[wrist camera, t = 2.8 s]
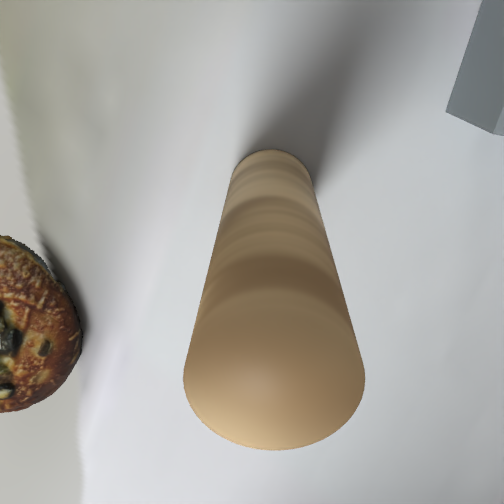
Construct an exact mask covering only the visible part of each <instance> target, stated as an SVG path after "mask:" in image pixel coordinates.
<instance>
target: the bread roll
mask: <svg viewBox="0 0 504 504" xmlns="http://www.w3.org/2000/svg"><path fill="white" fill-rule="evenodd" d="M47 268H48V267H47V265H46V263H45V262H44V260H42V258H41V257H39V256H38V255H37V254H35V253H34V251H33V250H30V248H28V247H27V246H25V244H22V243H21V242H18V241H15V240H14V239H12V237H10V236H1V235H0V344H1V348H0V413H4V412H12V411H19V410H22V409H26V408H28V407H30V406H31V405H33V404H36V403H38V402H40V401H42V400H44V399H45V398H47V397H49V396H50V395H52V394H53V393H54V392H55V391H56V390H57V389H58V388H59V387H60V386H61V385H62V384H63V383H64V382H65V381H66V379H67V377H68V375H69V374H70V373H71V372H72V369H73V368H74V366H75V364H77V361H78V359H79V357H80V355H81V347H82V346H81V345H82V338H83V336H82V335H83V333H82V329H81V331H80V320H79V316H78V314H77V310H76V307H75V306H74V304H73V301H72V299H71V298H70V296H69V295H68V292H67V291H66V290H65V287H64V285H63V284H62V283H61V282H56V281H55V280H54V279H53V277H52V275H51V273H50V271H49V270H48V269H47Z"/></svg>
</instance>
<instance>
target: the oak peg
mask: <svg viewBox="0 0 504 504" xmlns="http://www.w3.org/2000/svg"><path fill="white" fill-rule="evenodd" d="M183 382H184V389H185V393H186V397H187V399H188V402H189V404H190V406H191V408H192V409H193V411H194V412H195V414H196V415H197V416H198V418H199V419H200V420H201V421H202V422H203V423H204V424H205V425H206V426H207V427H208V428H209V429H211V430H212V431H213V432H215V433H216V434H218V435H219V436H221V437H223V438H225V439H227V440H229V441H231V442H234V443H236V444H239V445H242V446H245V447H250V448H255V449H261V450H288V449H295V448H300V447H304V446H307V445H310V444H313V443H316V442H318V441H320V440H323V439H324V438H326V437H328V436H330V435H331V434H333V433H334V432H336V431H337V430H338V429H340V428H341V427H342V426H343V425H344V424H345V423H346V422H347V421H348V420H349V419H350V418H351V416H352V415H353V414H354V412H355V411H356V409H357V407H358V405H359V403H360V401H361V399H362V395H363V391H364V386H365V371H364V366H363V362H362V358H361V354H360V351H359V347H358V344H357V340H356V337H355V333H354V330H353V326H352V323H351V319H350V316H349V312H348V309H347V305H346V302H345V298H344V294H343V291H342V287H341V284H340V280H339V277H338V273H337V270H336V266H335V263H334V259H333V256H332V252H331V249H330V245H329V242H328V238H327V235H326V231H325V227H324V224H323V220H322V217H321V213H320V210H319V206H318V203H317V199H316V196H315V192H314V189H313V185H312V182H311V178H310V175H309V173H308V171H307V169H306V167H305V166H304V165H303V163H302V162H301V161H300V160H299V159H297V158H296V157H295V156H293V155H291V154H289V153H287V152H285V151H281V150H275V149H267V150H261V151H257V152H255V153H252V154H250V155H249V156H247V157H246V158H244V159H243V160H242V161H241V162H240V163H239V164H238V166H237V167H236V168H235V170H234V172H233V174H232V177H231V180H230V184H229V188H228V192H227V196H226V200H225V204H224V208H223V212H222V216H221V220H220V224H219V228H218V232H217V236H216V240H215V245H214V249H213V253H212V257H211V261H210V265H209V269H208V273H207V277H206V281H205V285H204V289H203V293H202V297H201V301H200V305H199V309H198V313H197V317H196V321H195V325H194V330H193V334H192V338H191V342H190V346H189V350H188V354H187V358H186V362H185V366H184V374H183Z"/></svg>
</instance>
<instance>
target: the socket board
mask: <svg viewBox="0 0 504 504" xmlns="http://www.w3.org/2000/svg"><path fill="white" fill-rule="evenodd" d="M446 112H447V113H449V114H451V115H453V116H456V117H458V118H460V119H462V120H464V121H466V122H468V123H471V124H473V125H475V126H477V127H479V128H481V129H483V130H485V131H488V132H490V133H492V134H496V135H501V136H504V0H483V1H482V4H481V7H480V10H479V13H478V16H477V19H476V22H475V25H474V28H473V31H472V34H471V37H470V40H469V43H468V46H467V49H466V52H465V55H464V58H463V61H462V64H461V67H460V70H459V73H458V76H457V79H456V82H455V85H454V88H453V91H452V94H451V97H450V100H449V103H448V106H447V109H446Z"/></svg>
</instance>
